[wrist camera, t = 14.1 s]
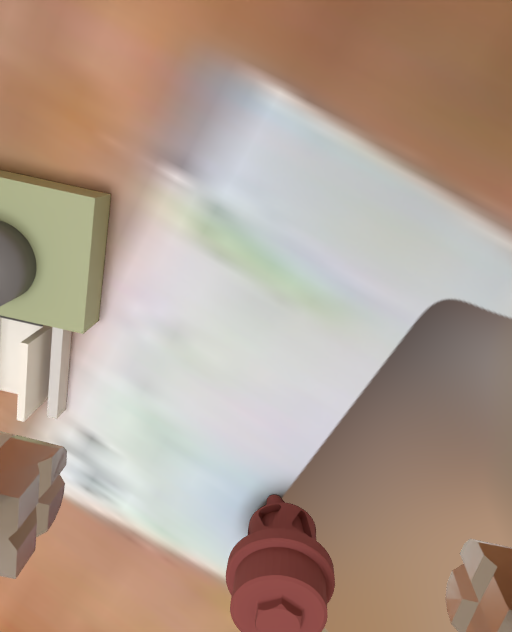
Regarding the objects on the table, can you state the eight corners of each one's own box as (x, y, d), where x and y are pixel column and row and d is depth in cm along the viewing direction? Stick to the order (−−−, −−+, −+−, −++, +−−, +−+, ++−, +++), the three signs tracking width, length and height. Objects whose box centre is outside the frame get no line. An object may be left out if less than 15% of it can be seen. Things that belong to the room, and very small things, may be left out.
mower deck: (-58, 157, 42) (-119, 158, 36) (111, 194, 42) (78, 201, 36) (-54, 381, 50) (-104, 414, 44) (89, 414, 50) (59, 451, 43)
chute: (0, 311, 47) (-33, 330, 42) (55, 324, 47) (28, 344, 42) (-2, 383, 49) (-34, 408, 45) (50, 395, 49) (24, 421, 45)
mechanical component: (349, 514, 51) (290, 569, 54) (274, 462, 50) (218, 521, 53) (363, 623, 39) (288, 684, 42) (266, 558, 38) (195, 627, 41)
